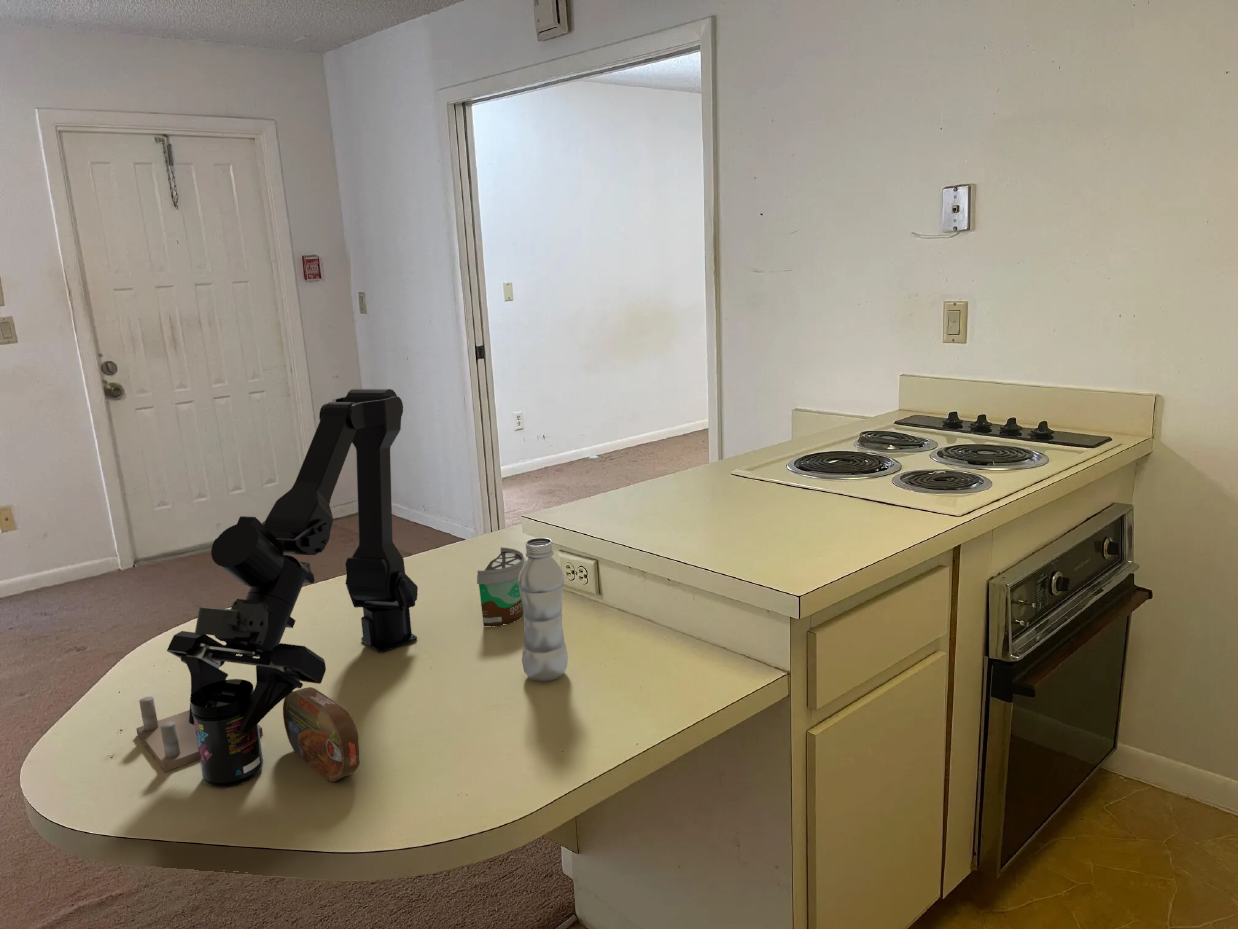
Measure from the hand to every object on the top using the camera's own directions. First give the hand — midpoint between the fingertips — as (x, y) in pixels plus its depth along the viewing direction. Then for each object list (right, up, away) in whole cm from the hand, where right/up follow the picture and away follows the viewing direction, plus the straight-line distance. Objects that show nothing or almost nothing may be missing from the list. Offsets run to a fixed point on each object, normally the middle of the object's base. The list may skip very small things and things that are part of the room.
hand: (217, 728), depth 102 cm
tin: (+11, -6, +5) cm, 13 cm away
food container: (+28, +5, +46) cm, 54 cm away
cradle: (-7, -4, +11) cm, 14 cm away
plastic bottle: (+36, 0, +24) cm, 43 cm away
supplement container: (+1, -6, +3) cm, 7 cm away
